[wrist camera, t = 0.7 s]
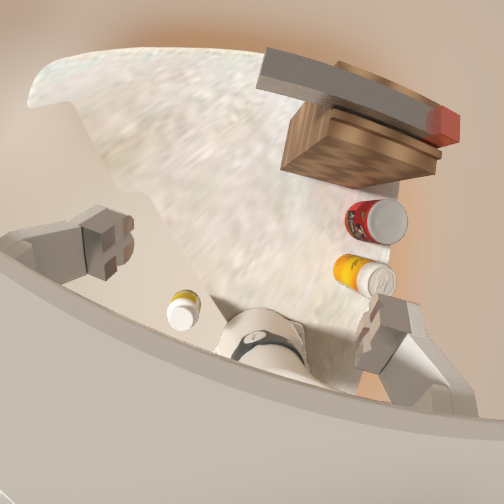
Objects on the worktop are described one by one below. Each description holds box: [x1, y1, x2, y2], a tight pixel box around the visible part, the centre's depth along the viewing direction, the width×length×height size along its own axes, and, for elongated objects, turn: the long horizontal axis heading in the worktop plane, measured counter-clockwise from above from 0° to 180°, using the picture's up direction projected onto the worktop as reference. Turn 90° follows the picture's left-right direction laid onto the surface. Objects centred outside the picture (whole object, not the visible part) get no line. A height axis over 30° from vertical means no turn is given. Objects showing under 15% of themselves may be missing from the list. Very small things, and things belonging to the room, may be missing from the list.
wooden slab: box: [280, 61, 442, 189], centre depth 45 cm, size 15×10×27 cm, turn 78°
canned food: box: [345, 199, 408, 245], centre depth 55 cm, size 8×8×11 cm
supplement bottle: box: [167, 290, 201, 331], centre depth 54 cm, size 5×5×10 cm
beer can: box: [333, 254, 396, 300], centre depth 54 cm, size 6×6×15 cm
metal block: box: [256, 47, 460, 149], centre depth 30 cm, size 23×4×5 cm, turn 78°
